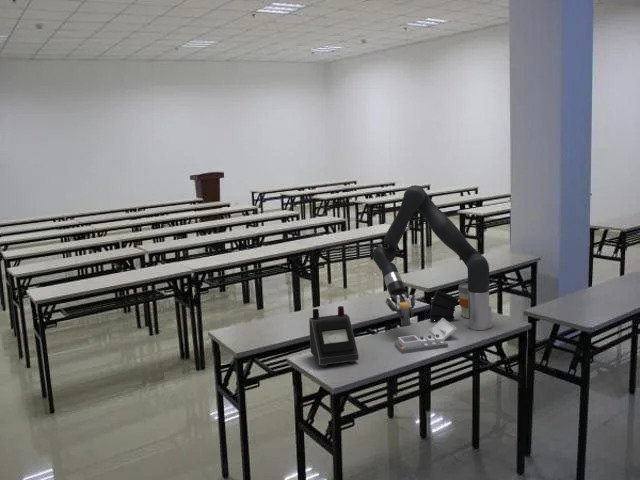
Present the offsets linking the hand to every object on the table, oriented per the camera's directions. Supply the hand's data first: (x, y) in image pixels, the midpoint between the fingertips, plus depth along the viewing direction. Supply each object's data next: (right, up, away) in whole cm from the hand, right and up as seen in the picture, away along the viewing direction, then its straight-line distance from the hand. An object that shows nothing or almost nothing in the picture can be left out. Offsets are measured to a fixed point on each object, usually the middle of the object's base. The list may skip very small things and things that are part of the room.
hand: (407, 317), depth 256 cm
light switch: (+17, -9, +5) cm, 20 cm away
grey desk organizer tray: (+5, -12, -7) cm, 14 cm away
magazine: (+21, -5, +25) cm, 33 cm away
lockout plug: (0, -4, +3) cm, 5 cm away
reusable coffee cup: (+36, -3, +29) cm, 47 cm away
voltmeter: (-32, -16, -15) cm, 39 cm away
